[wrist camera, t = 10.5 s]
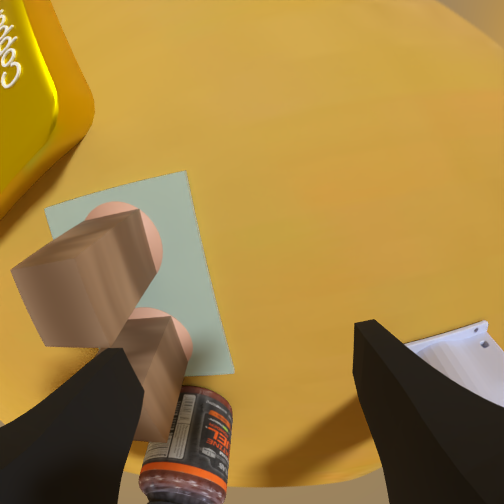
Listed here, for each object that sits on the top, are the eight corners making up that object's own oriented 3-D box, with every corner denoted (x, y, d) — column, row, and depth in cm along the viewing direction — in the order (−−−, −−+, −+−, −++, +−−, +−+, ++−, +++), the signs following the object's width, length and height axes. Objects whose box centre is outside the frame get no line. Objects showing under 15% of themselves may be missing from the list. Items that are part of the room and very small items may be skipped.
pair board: (186, 170, 16) (183, 171, 15) (234, 369, 21) (234, 374, 21) (47, 207, 17) (43, 209, 16) (115, 373, 22) (113, 377, 21)
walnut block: (139, 208, 16) (74, 258, 10) (156, 273, 18) (110, 347, 11) (83, 221, 16) (10, 270, 10) (102, 280, 18) (45, 346, 11)
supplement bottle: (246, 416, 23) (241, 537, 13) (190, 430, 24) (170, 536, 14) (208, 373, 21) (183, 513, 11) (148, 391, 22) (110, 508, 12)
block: (171, 315, 19) (137, 396, 12) (188, 362, 20) (167, 443, 14) (118, 320, 19) (73, 392, 13) (138, 363, 21) (107, 436, 14)
